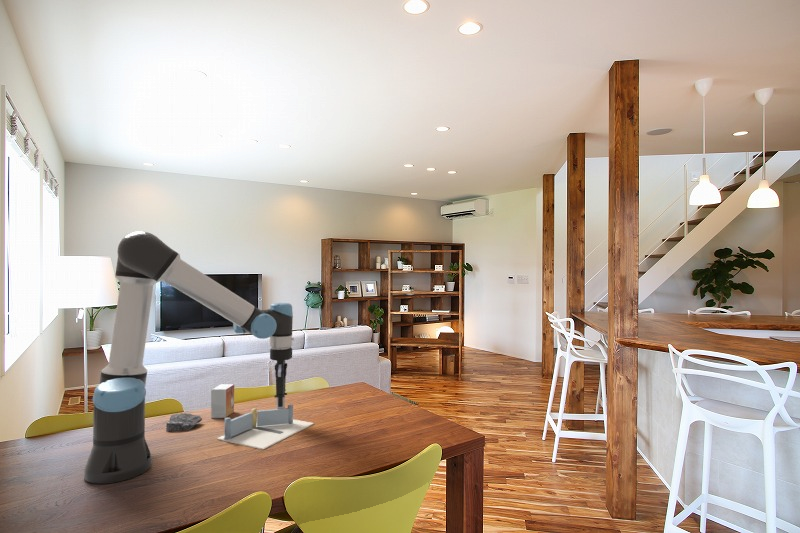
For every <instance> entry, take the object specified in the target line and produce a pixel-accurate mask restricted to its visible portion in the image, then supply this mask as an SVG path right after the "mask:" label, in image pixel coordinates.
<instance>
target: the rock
mask: <svg viewBox="0 0 800 533" xmlns="http://www.w3.org/2000/svg"><path fill="white" fill-rule="evenodd" d="M202 420H203V417H202V416H200V415H196V414H191V413H186V412H185V413H183V412H182V413H174V414H172V415H171V416H170V417H169V420H168V421H167V422H166V432H179V431H180V432H181V431H191V429H193V428H194V427H195V426H196V425H197V424H200V422H202Z"/></svg>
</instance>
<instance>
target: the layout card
mask: <svg viewBox="0 0 800 533" xmlns="http://www.w3.org/2000/svg"><path fill="white" fill-rule="evenodd" d="M313 425H314V422H311V421H305V420H304V421H303V420H299V419H295V418H293V423H291V424H278V425H268V426H258V427H257V426H256V427H252V428H251V429H248V430H246V431H244V432H241V433H239V434H237V435H235V436H232V437H231V438H230V439H229V440H225V439H224V438H225V434H224V435H221V436H218V437H217V438H216V440H218V441H222V442H227V443H231V444H236V445H240V446H244V447H249V448H253V449H254V448H255V449H257V450H261V451H262V450H265V449H268V448H270V447H272V446H273V445H275V444H277V443H279V442H282V441H283V440H285V439H287V438H289V437H291V436H293V435H295V434H297V433H299V432H301V431H303V430H305V429H307V428H309V427H311V426H313Z"/></svg>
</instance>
